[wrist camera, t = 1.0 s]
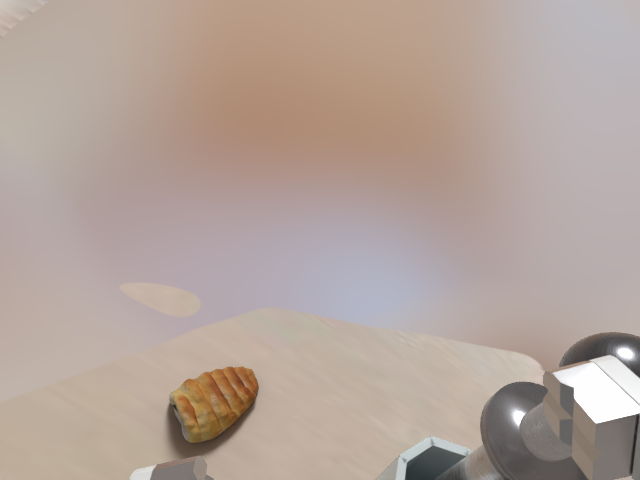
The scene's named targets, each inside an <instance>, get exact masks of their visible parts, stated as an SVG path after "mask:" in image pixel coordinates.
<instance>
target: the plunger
mask: <svg viewBox="0 0 640 480" xmlns="http://www.w3.org/2000/svg"><path fill="white" fill-rule="evenodd" d="M608 355H611V356H614V357H616V358H617V359H618V360H619V361H621V362H622V363H623V364H624V365H625V366H626V367H627V368H628V369H630V370H631V371H632V372H633V373H634V374H635V375H636V376H638V377H639V378H640V337H638V336H635V335H631V334H626V333H617V332H610V333H600V334H595V335H592V336H589V337H587V338H584V339H582V340H580V341H579V342H577V343H576V344H574V345H573V346H572V347H571V348H570V349H569V350H568V351H567V352H566V353H565V355H564V356H563V358H562V360H561V362H560V364H559V367H563V366H567V365H571V364H575V363H579V362H583V361H588V360H592V359H596V358H600V357H604V356H608ZM559 367H558V368H559ZM547 393H548V389H547V388H546V387H545V386H542V385H539V384H535V383H531V382H515V383H511V384H508V385H506V386H504V387H503V388H501V389H500V390H499V391H498V392H497V393H495V394H494V395H493V396H492V397H491V398H490V399H489V400H488V401H487V403H486V405H485V406H484V409H483V411H482V415H481V422H480V430H481V437H482V441H483V445H482V446H480V447H479V448H478V449H476V450H475V451H473V452H472V453H471V454H469V455H468V456H466V457H465V458H464V459H462V460H461V461H459V462H458V463H457V464H455V465H454V466H452V467H451V468H450V469H448V470H447V471H446V472H444V473H443V474H441V475H440V476H439V477H437V478H436V479H434V480H589V479H588V478H587V477H586V475H585V474H584V473H583V471H582V470H581V469H580V467H579V466H578V465H577V463H576V462H575V461H574V459H573V458H572V447H571V446H570V445H568V444H566V443H564V442H562V441H560V440H559V439H558V437H557V436H556V435H555V433H554V432H553V430H552V429H551V427H550V425H549V423H548V421H547V418H546V415H545V412H544V404H543V398H544V397H545V395H546V394H547Z"/></svg>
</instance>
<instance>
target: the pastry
mask: <svg viewBox="0 0 640 480" xmlns="http://www.w3.org/2000/svg"><path fill="white" fill-rule="evenodd" d="M258 389H259V386H258V382H257V380H256V378H255V375H254V372H253V371H252V370H251V369H247V368H244V367H236V368H233V367H227V368H225V369H222V370H221V369H216V370H214V371H212V372H205V373H203V374H201V375H200V376H199V377H198V378H196V379H194V380H193V379H188V380H186V381H185V382H184V383H183V384H182V385H181V386H180V388H179V389H177V390H176V391H173V392H172V393H171V394H170V403H171V405H172V406H173V407H174V413H175V415H176V417H177V418H178V421H179V422H180V423H181V425H182V434H183V435H184V438H185V439H186V440H187V441H188V442H190V443H198V442H202V441H207V440H211V439H213V438H215V437H217V436H218V435H220V434H221V433H222V432H223V431H224V430H226V429H227V428H228V427H229V426H231V425H232V424H233V423H234V422H235V421H236V420H237V419H238V418H239V417H240V416H241V415H242V414H243V413H244V412H245V411H246V410H247V409H248V408H249V407H250V405H251V404H252V403H253V401H254V399H255V398H256V395H257V392H258Z"/></svg>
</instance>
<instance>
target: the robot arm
mask: <svg viewBox="0 0 640 480" xmlns="http://www.w3.org/2000/svg"><path fill="white" fill-rule="evenodd" d="M543 384H544V386H545V387H546V388H547V389H548V393H547V394H546V395H545V397H544V398H543V404H544V412H545V415H546V418H547V421H548V423H549V425H550V427H551V429H552V430H553V432H554V433H555V435H556V436H557V437H558V439H559V440H560V441H562V442H564V443H566V444H568V445H570V446H571V447H572V458H573V459H574V461H575V462H576V463H577V465H578V466H579V467H580V469H581V470H582V471H583V473H584V474H585V475H586V477H587V478H588V479H589V480H614V479H619V478H623V477H628V476H632V478H633V479H634V480H640V378H639V377H638V376H636V375H635V374H634V373H633V372H632V371H631V370H630V369H628V368H627V367H626V366H625V365H624V364H623V363H622V362H621V361H619V360H618V359H617V358H616V357H614V356H611V355H608V356H604V357H600V358H596V359H592V360H588V361H583V362H579V363H575V364H571V365H567V366H563V367H559V368H556V369H552V370H548V371H545V373H544V375H543ZM206 470H207V464H206V462H205V461H204V459H203V457H202V456H195V457H190V458H185V459H181V460H176V461H171V462H167V463H162V464H157V465H154V466H150V467H145V468H141V469H136V470H135V471H134V473H133V474H132V475H131V477H130V479H129V480H214V479H213V478H211V477H210V476H208V475H206Z"/></svg>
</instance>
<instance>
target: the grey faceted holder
mask: <svg viewBox="0 0 640 480" xmlns="http://www.w3.org/2000/svg"><path fill="white" fill-rule="evenodd" d="M471 453H472V452H471V450H468V448H466V447H463V446H460V445H457V444H454V443H451V442H448V441H445V440H442V439H439V438H436V437H433V436H431V437H430V436H429V437H427V438H426V439H424V440H423V441H421V442H420V443H418V444H416V445H415V446H413V447H412V448H410V449H409V450H407V451H405V452H404V453H402V454H401V455H399V456H398V457H397V458H396V459H395V460H394V461H393V462H392V463H391V464H390V466H389V467H388V468H387V469H386V470H385V471H384V472H383V473H382V474H381V475H380V476H379V477H378V478H377V479H376V480H434V479H436V478H437V477H439V476H440V475H441V474H443V473H444V472H446V471H447V470H448V469H450V468H451V467H452V466H454V465H455V464H457V463H458V462H459V461H461V460H462V459H464V458H465V457H466V456H468V455H469V454H471Z"/></svg>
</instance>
